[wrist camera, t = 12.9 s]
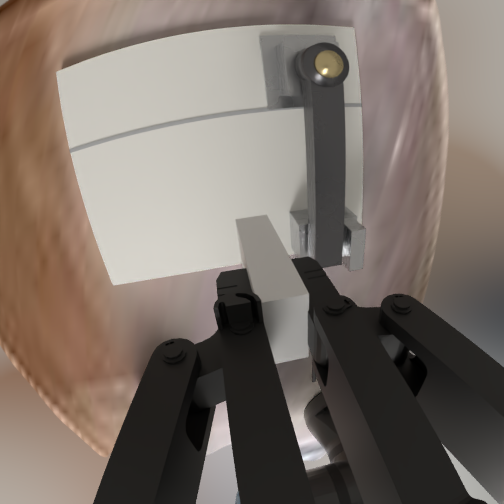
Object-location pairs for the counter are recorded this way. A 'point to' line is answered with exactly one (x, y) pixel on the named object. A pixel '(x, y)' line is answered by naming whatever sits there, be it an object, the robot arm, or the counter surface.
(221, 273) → the robot arm
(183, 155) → the door board
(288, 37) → the grey latch pivot mount
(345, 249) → the keeper
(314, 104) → the latch bar
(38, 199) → the counter surface
